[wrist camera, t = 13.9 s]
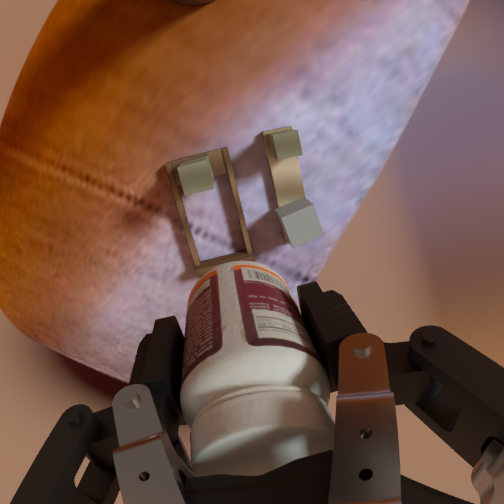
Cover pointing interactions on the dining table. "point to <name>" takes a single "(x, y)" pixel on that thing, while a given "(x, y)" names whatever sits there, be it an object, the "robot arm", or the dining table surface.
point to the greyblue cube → (299, 221)
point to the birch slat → (284, 164)
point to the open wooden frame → (200, 179)
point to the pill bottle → (251, 375)
